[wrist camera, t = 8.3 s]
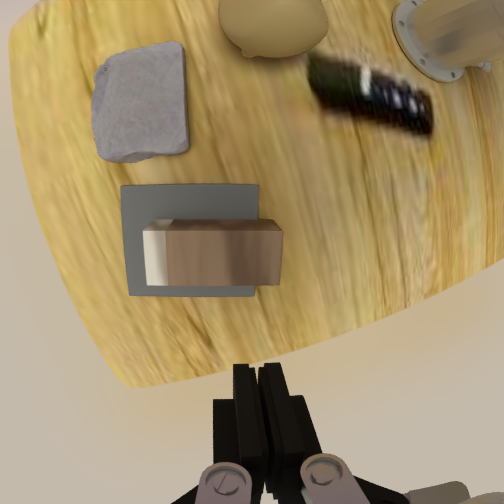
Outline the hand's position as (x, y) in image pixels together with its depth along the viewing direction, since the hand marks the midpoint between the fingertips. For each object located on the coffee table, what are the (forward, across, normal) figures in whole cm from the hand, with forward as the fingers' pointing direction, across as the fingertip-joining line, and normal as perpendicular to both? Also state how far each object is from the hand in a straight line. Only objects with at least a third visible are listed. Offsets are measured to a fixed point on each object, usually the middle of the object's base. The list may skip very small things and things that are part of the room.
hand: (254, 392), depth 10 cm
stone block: (+22, +10, -14) cm, 28 cm away
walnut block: (+19, -4, +1) cm, 19 cm away
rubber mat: (+22, +4, +1) cm, 22 cm away
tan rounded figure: (+22, -2, -23) cm, 32 cm away
